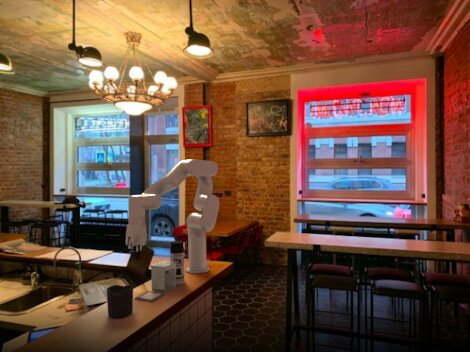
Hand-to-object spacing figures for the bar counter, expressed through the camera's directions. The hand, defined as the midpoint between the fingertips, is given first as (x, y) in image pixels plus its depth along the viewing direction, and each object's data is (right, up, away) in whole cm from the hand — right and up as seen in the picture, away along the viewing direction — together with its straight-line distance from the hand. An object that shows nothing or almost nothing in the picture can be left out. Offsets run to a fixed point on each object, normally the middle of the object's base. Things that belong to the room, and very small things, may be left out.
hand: (137, 259), depth 158 cm
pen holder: (+4, -13, -33) cm, 36 cm away
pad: (+10, -12, -16) cm, 23 cm away
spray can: (+19, -12, +3) cm, 23 cm away
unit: (+14, -12, -6) cm, 20 cm away
